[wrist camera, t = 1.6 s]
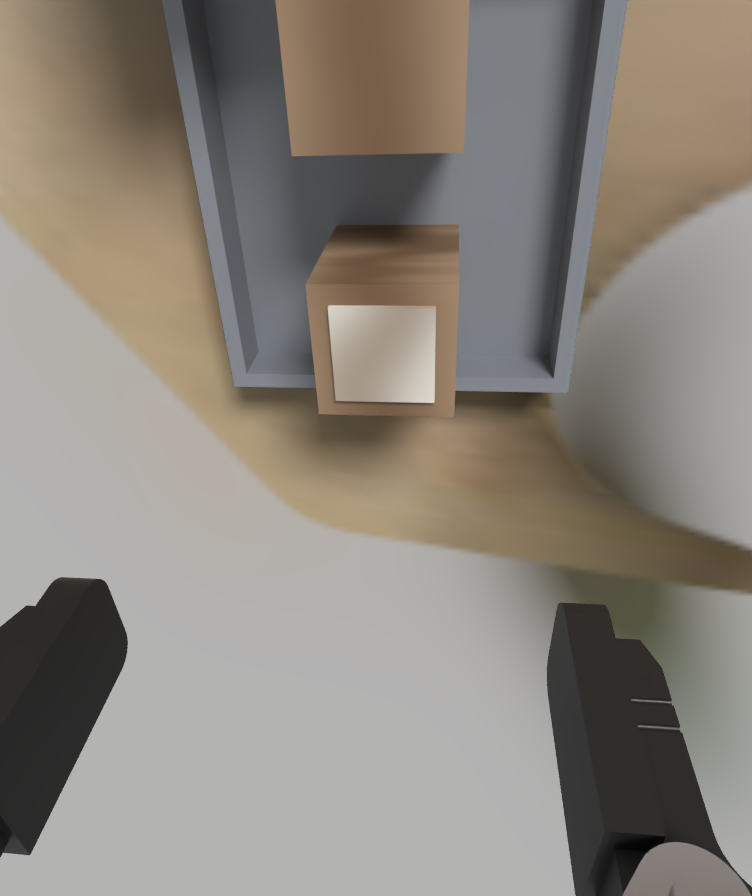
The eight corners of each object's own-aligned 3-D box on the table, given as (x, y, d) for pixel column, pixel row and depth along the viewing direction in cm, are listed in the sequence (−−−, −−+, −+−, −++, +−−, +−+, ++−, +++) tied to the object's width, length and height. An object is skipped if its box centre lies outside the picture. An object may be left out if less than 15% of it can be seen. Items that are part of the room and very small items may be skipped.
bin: (627, -124, 18) (648, -139, 16) (559, 362, 27) (567, 392, 25) (174, -94, 19) (141, -105, 17) (250, 358, 28) (234, 386, 26)
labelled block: (458, 224, 23) (459, 287, 18) (455, 338, 26) (454, 420, 21) (336, 225, 24) (304, 286, 19) (344, 336, 26) (317, 417, 21)
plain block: (468, -55, 19) (472, -73, 14) (462, 116, 21) (463, 152, 16) (316, -47, 19) (268, -61, 14) (329, 120, 22) (291, 156, 17)
